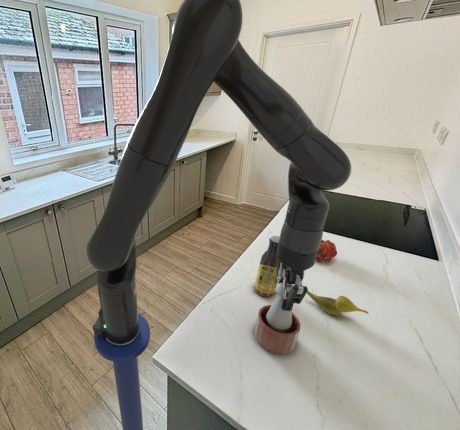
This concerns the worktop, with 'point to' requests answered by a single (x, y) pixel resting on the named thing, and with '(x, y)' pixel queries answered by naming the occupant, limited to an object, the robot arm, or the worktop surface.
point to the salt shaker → (279, 312)
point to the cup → (276, 334)
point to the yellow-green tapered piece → (335, 304)
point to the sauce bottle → (268, 270)
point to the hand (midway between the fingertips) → (283, 301)
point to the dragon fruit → (326, 251)
